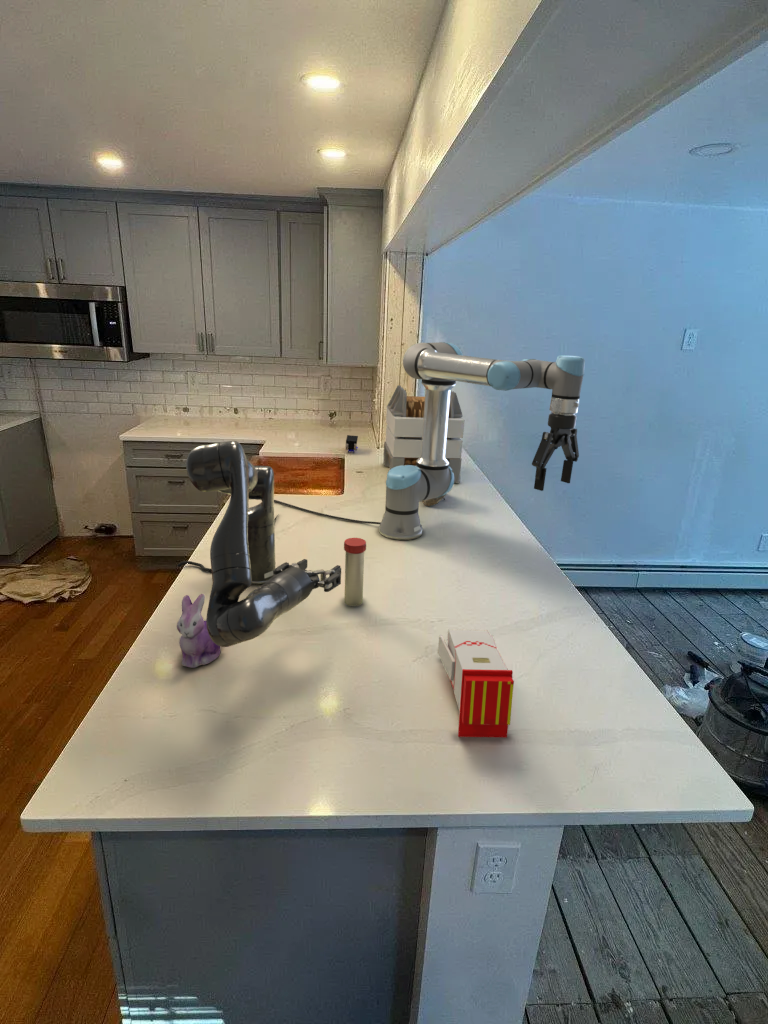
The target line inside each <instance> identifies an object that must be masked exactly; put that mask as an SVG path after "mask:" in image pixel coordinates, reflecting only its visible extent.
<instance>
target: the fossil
mask: <svg viewBox="0 0 768 1024" xmlns="http://www.w3.org/2000/svg"><path fill="white" fill-rule="evenodd" d="M447 495H448V493H447V494H445V495H443V496H441V497H438V498H432V499H428V500H424V501H421V502H422V503H423V506H427V507H431V506H434V505H437V504H439V502H441V501H442V500H446V498H445V497H446V496H447Z"/></svg>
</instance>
